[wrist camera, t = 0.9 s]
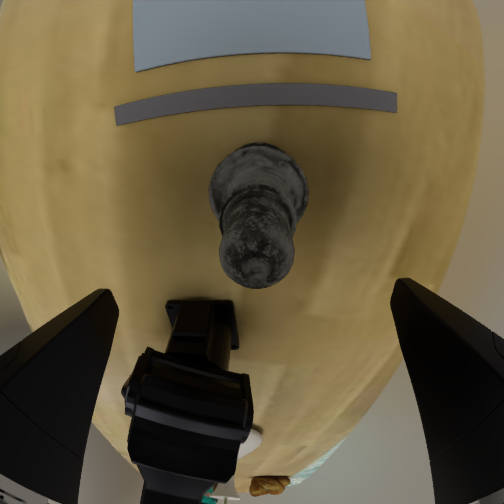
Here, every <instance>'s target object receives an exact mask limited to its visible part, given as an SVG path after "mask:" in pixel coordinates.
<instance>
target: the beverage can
mask: <svg viewBox="0 0 504 504" xmlns="http://www.w3.org/2000/svg"><path fill="white" fill-rule="evenodd" d="M217 485H218V483H216V484H215V485H214V486H213V487H212V488H210V489H209V490H208V491H207V492H205V493H204V494H203V498H202V502H201V504H216V503H217V501H218V499H217V498H212V497H209V496H210V495H211V494H212V493H213V492H214V491H215V489H216V488H217Z"/></svg>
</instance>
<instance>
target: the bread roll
mask: <svg viewBox="0 0 504 504" xmlns="http://www.w3.org/2000/svg"><path fill="white" fill-rule="evenodd" d="M289 484H290V479H289V478H288V477H282V476H277V477H271V476H258V477H255V478H253V479H252V480H251V486H250V489H249V491H250V494H251V495H252V496H255V497H256V496H260V495H265V494H269V493H270V494H273V495H276V494H281V493H282V492H283V491H284V489H285V488H284V487H286V486H288V485H289Z"/></svg>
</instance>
